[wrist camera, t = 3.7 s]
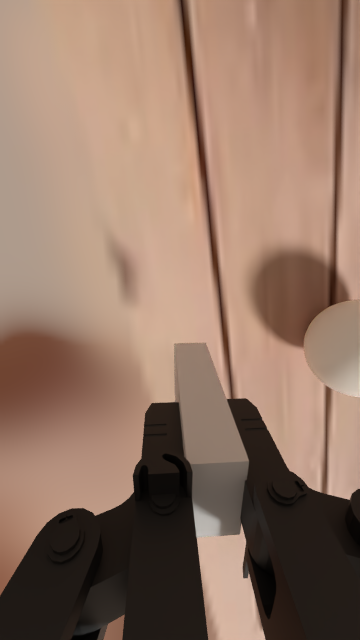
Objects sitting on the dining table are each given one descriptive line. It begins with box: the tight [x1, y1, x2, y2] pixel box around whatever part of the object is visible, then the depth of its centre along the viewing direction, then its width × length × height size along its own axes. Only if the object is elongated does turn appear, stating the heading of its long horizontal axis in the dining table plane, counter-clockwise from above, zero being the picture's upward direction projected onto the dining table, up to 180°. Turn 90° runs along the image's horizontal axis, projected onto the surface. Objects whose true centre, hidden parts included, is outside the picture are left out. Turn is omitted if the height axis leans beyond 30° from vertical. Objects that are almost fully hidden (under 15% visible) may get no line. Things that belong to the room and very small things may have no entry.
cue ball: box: [304, 300, 360, 397], centre depth 15 cm, size 6×6×6 cm
